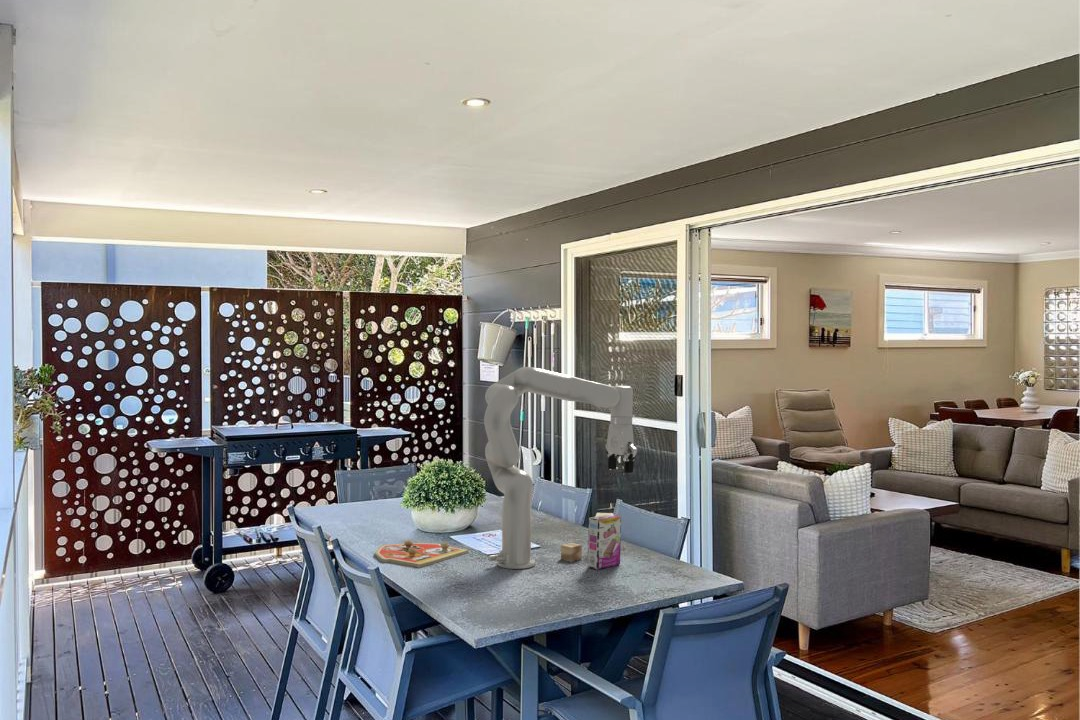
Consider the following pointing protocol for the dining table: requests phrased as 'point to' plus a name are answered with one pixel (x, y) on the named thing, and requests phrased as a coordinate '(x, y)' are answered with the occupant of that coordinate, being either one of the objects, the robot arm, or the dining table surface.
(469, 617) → the dining table surface
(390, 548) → the knob puzzle
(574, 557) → the oak block
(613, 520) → the candy bar box
